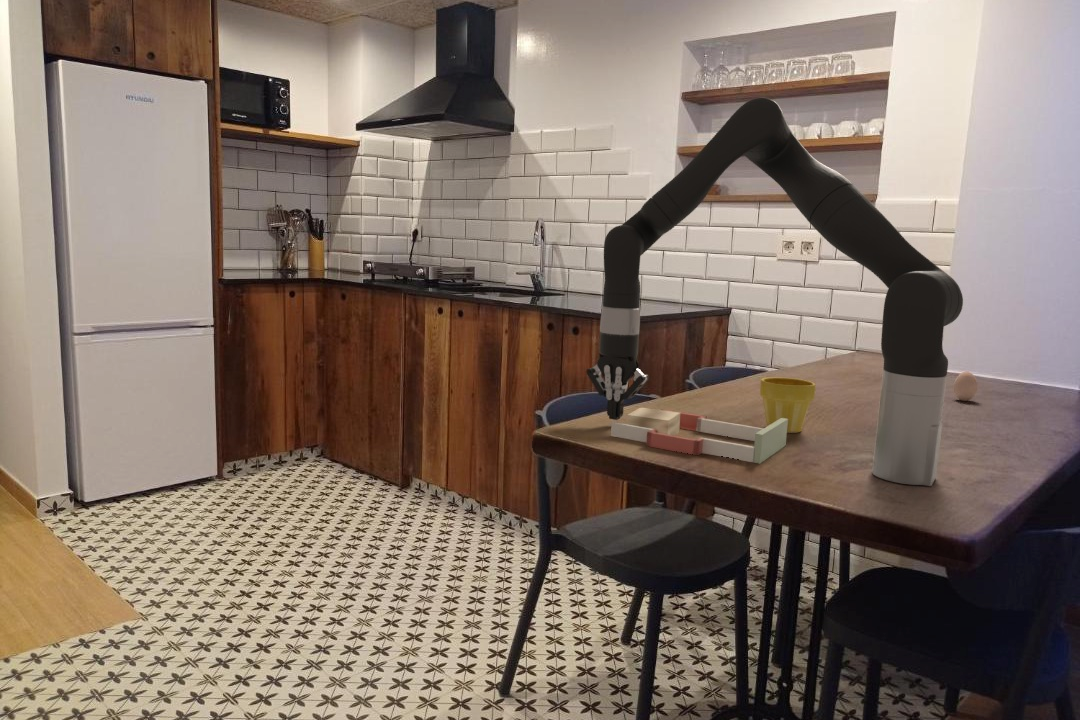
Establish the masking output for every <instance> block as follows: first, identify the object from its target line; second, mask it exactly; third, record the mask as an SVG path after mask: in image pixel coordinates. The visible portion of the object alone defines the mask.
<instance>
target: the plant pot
mask: <svg viewBox="0 0 1080 720" xmlns="http://www.w3.org/2000/svg"><path fill="white" fill-rule="evenodd" d="M759 387H760V388H759V395H760V397H762V400H763V402H762V403H763V409H764V415H765V416H764V417H765V423H766V427H767V426H769V425H770V424H772V423H774V422H775V421H777V420H779V419H780V418H785V419H788V425H787V434H794V433H795V434H796V433H800V432H802V430H803V427H804V424H805V420H806V417H807V414H808V411H809V407H810V403H811V402H813V401H814V399H815V394H816V383H814V382H812V381H811V380H805V379H800V378H792V377H782V376H781V377H775V376H774V377H773V376H771V377H763V378H761V379H760V386H759Z"/></svg>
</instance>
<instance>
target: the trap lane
mask: <svg viewBox="0 0 1080 720" xmlns="http://www.w3.org/2000/svg"><path fill="white" fill-rule="evenodd" d="M660 410H663V411H671V412H676V411H675V410H668V409H663V408H662V409H661V408H660ZM677 412H678V413H680V427H679V429H682V430H686V431H688V430H689V431H693V432H700V433H706V434H710V435H711V434H712V435H717V436H723V437H727V436H728V437H729V438H734V439H739V440H746V441H751V442H754V445H753V446H752V445H746V444H742V443H741V444H740V443H734V442H729V441H724V440H718V439H712V438H706V437H701V436H700V437H699V438H697V439H694V438H689V437H688V438H687V437H682V436H677V435H674V436H672V435H667V434H661V433H658V430H656V429H650V428H645V427H639V426H633V425H628V424H627V423H622V422H616V421H612V422H611V424H610V425H611V426H610V427H611V429H610V437H615V438H621V439H625V440H630V441H635V442H642V443H646V447H650V448H657V449H661V450H667V451H673V452H676V451H677V453H681V452H682V454H687V453H688V455H692V454H693V456H697V455H698V456H699V455H701V454H705V455H710V456H711V455H712V456H715V457H716V456H717V457H721V456H723V457H722V458H726V457H729V458H728V459H732V458H734V459H733V460H737V459H739V460H738V461H742V462H743V461H744V462H749V463H755V464H759V465H760V464H762V463H763V462H765V461H766V460H767V459H769V458H770V457H772V456H773V455H774V454H776V453H777V452H779V451H780V450H782V449H783V448H784V447H786V443H787V434H788V433H787V425H788V419H785V418H780V419H779V420H777V421H775V422H774V423H772V424H770V425H769V426H767V425H766V427H764V428H763V427H758V426H751V425H746V424H740V423H739V424H738V423H732V422H727V421H721V420H714V419H708V418H707V416H705V415H699V414H695V413H694V414H692V413H687V412H680V411H677Z"/></svg>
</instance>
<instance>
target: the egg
mask: <svg viewBox="0 0 1080 720" xmlns="http://www.w3.org/2000/svg"><path fill="white" fill-rule="evenodd" d="M978 386H979V385H978V381H977V378H976V376H975V375H974V374H973V373H972V372H970V371H963V372H961V373H960V374H959V375H957V377H956V379H955V380H954V383H953V387H952V388H953V392H954V395H955V396H956V398H957V399H958V400H960V401H962V402H968V401H970V400H972V399H973V398H974V397H975V396H976V394H977V393H978V388H979V387H978Z"/></svg>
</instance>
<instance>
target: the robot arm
mask: <svg viewBox="0 0 1080 720" xmlns="http://www.w3.org/2000/svg"><path fill="white" fill-rule="evenodd" d="M743 156H744V157H745V158H746V159H748V160H749V161H750V162H751V163H752V164H754V165H755V166H757V167H758V168H759V169H760V170H761V171H762V172H764V173H765V174H767V175H766V176H769V178H771V179H772V180H773V181H774V182H776V183H777V185H779V186H780V187H781V188H782V190H783V191H784V192H785V193H786V195H787V196H788V198H789V199H790V200H791V202H792V203H793V205H795V207H796V208H797V210H798V211H799V212H800V214H801V215H803V216H804V218H805V219H806V221H808V223H809V224H810V225H811V226H812V227H813V228H814V229H815V230H816V231H817V232H818V233H819V235H820V236H822V238H823V239H824V240H826V241H827V242H828V243H829V244H830V245H831V246H832V247H834V248H835V249H837V250H838V251H839V252H841V253H842V254H844V255H845V256H846V257H849V258H850V259H851V260H853V261H854V262H856V263H858V264H860V266H862V267H864V268H866V269H867V270H868V271H870V272H871V273H873V274H874V275H875V276H876V277H877V278H878V279H879V280H880V281H881V282H882V283H883V284H884V285H885V286H886V288H887V291H886V294H885V297H884V303H883V312H882V313H883V314H882V327H881V341H880V342H881V343H880V344H881V345H880V346H881V347H880V348H881V354H882V356H883V370H882V376H881V377H882V378H881V388H880V393H879V394H880V396H879V403H878V413H877V423H876V424H877V425H876V433H875V441H874V450H873V451H874V452H873V458H872V468H871V470H872V471H871V473H872V475H874V476H875V477H877V478H880V479H882V480H885V481H888V482H893V483H898V484H902V485H903V484H904V485H913V486H914V485H915V486H919V485H920V486H927V487H932V486H933V484H934V482H935V481H936V478H937V473H938V472H937V471H938V462H939V454H940V446H941V445H940V444H941V437H942V431H943V420H942V417H943V409H944V408H943V407H944V401H945V394H946V385H947V377H948V376H947V375H948V369H949V359H948V357H947V356H946V354H945V353H944V349H943V340H944V339H943V338H944V329H945V328H944V327H946V326H948V325H950V324H952V323H954V321H956V320H957V319H958V317H959V316H960V314H961V312H962V310H963V305H964V298H963V297H964V296H963V293H962V290H961V287H960V286H959V284H958V283H957V282H956V281H955V280H954V278H952V277H951V275H949V274H948V273H947V272H945V271H944V270H943V269H941V268H940V267H938V265H936V264H935V263H934V262H933V261H931V260H930V259H929V258H927V257H926V256H925V255H923V254H922V253H921V252H920V251H918V249H916V248H915V247H914V246H913V245H912V244H911V243H910V242H909V241H907V240H906V238H904V236H903V235H902V233H900V232H899V230H898V229H897V228H895V226H894V225H893V224H892V223H891V222H890V220H889V219H888V218H886V216H885V215H884V214H883V213H882V212H881V211H880V210H879V209H878V208H877V207H876V206H875V205H874V204H873V202H872V201H870V199H868V197H866V196H865V195H864V194H863V193H862V192H861V190H859V188H858V187H857V186H856V185H854V184H853V183H852V182H851V181H850V179H847V178H846V177H845V176H844V175H843V174H841V173H839V172H838V171H837V170H835V169H832V168H831V167H828V166H827V165H825V164H823V163H821V162H820V161H818V160H817V159H816V158H814V157H813V156H812V155H811V153H809V151H808V150H807V149H806V148H805V147H804V146H803V145H802V143H801V142H800V141H799V139H798V138H797V137H796V136H795V135H794V133H793V131H792V130H791V127H790V126H789V124H788V121H787V119H786V117H785V115H784V112H783V111H782V107H780V105H779V104H778V103H777V102H776V101H775V100H773V99H771V98H768V97H763V96H762V97H757V98H756V97H755V98H752V99H751V100H748V101H746V102H745V103H743V104H742V105H741V106H740V107H739V108H738V109H737V110H736V111H735V112H733V114H732V115H731V116H730V117H729V119H727V121H726V122H725V123H724V124H723V125H722V126H721V128H720V129H719V130H718V131H717V132H716V134H715V135H714V136H712V138H711V139H710V140H709V141H708V142H707V144H705V146H704V147H703V148H702V149H701V150H700V151H699V152H698V153H697V154H696V155H695V156H694V158H693V159H692V160H691V161H690V162H689V163H688V164H687V165H686V166H685V167H684V168H683V169H682V170H681V171H680V172H679V173H678V174H677V175H675V176H674V177H673V178H672V179H670V181H669V182H667V183H666V184H665V185H664V186H663V187H661V188H660V189H659V190H657V192H655V194H653V195H652V196H651V197H649V198H648V200H647V201H645V203H644V204H643V205H642V206H641V208H640V209H639V210H638V211H637V212H635V214H634V215H632V216H631V217H630V218H629V219H627V220H626V221H625V222H624V223H622V224H621V225H617V226H615V227H613V228H611V229H610V230H609V231H608V232H607V234H606V236H605V239H604V243H603V273H604V285H603V294H602V295H603V296H602V309H601V314H600V324H599V342H598V343H599V345H598V353H599V356H598V358H597V360H596V364H595V365H594V366H593V367H590V368H587V369H586V372H585V373H586V375H587V376H588V378H589V380H590V381H591V383H592V385H593V386H594V388H595V390H596V391H597V394H598V395H599V396H600V397H601V396H603V397H605V398H606V400H607V402H606V405H607V406H606V413H607V416H608V418H609V419H610V420H615V421H617V420H620V419H621V417H623V415H624V407H625V405H624V404H625V401H626V400H629V399H632V398H633V397H635V395H636V394H637V393H638V392H639V391H640V389H642V388H643V386H644V385H645V384H646V382H648V380H649V379H650V376H649V374H645V373H643V372H642V371H641V369H639V368H640V364H639V361H638V355H639V341H640V340H639V339H640V327H641V326H640V325H641V317H640V316H641V315H640V305H641V304H640V302H641V282H640V278H639V277H640V276H639V275H640V268H641V267H640V265H641V257H642V255H644V254H645V253H646V252H647V250H649V249H650V248H651V247H652V246H653V245H654V244H655V243H657V241H658V240H659V239H661V238H662V236H664V235H665V234H667V233H668V232H670V231H671V230H672V229H674V228H675V227H676V226H677V225H678V224H680V223H681V222H683V221H684V220H685V219H686V218H687V217H688V216H690V215H691V213H693V212H694V211H696V209H697V208H698V207H699V206H700V204H701V203H702V202H703V201H704V199H705V198H706V197H707V195H708V194H709V192H710V191H711V189H712V188H713V187H714V186H715V184H716V182H717V181H718V180H719V178H720V177H722V175H723V174H724V172H725V171H727V169H728V168H729V167H730V166H731V165H732V164H733V163H734V162H736V161H737V160H738V159H740V158H741V157H743ZM632 378H633V383H632V384H631V385H629V382H630V381H631V379H632ZM628 385H629V387H628Z"/></svg>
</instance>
